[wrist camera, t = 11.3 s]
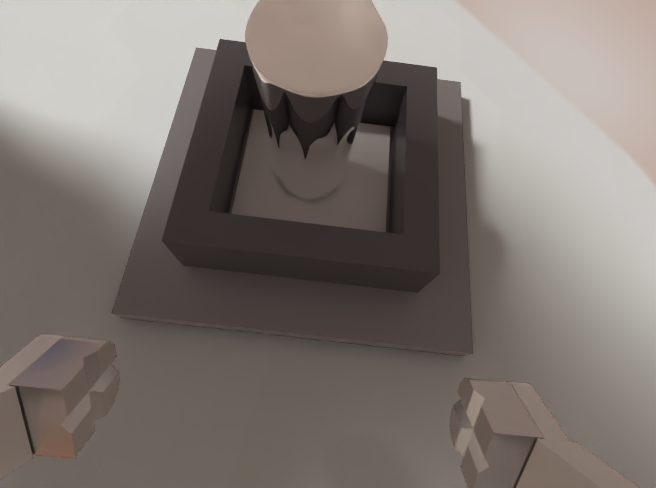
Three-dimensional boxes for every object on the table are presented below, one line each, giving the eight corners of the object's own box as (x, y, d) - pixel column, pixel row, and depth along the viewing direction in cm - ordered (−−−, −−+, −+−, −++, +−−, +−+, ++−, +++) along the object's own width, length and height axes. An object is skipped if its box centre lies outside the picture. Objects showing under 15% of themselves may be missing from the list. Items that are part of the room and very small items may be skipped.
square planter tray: (121, 317, 17) (73, 295, 14) (200, 61, 24) (182, -2, 20) (464, 355, 18) (506, 344, 14) (454, 94, 24) (482, 38, 20)
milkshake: (322, 116, 21) (340, -105, 12) (369, 192, 20) (432, 5, 10) (245, 143, 20) (200, -75, 11) (288, 226, 18) (278, 52, 9)
